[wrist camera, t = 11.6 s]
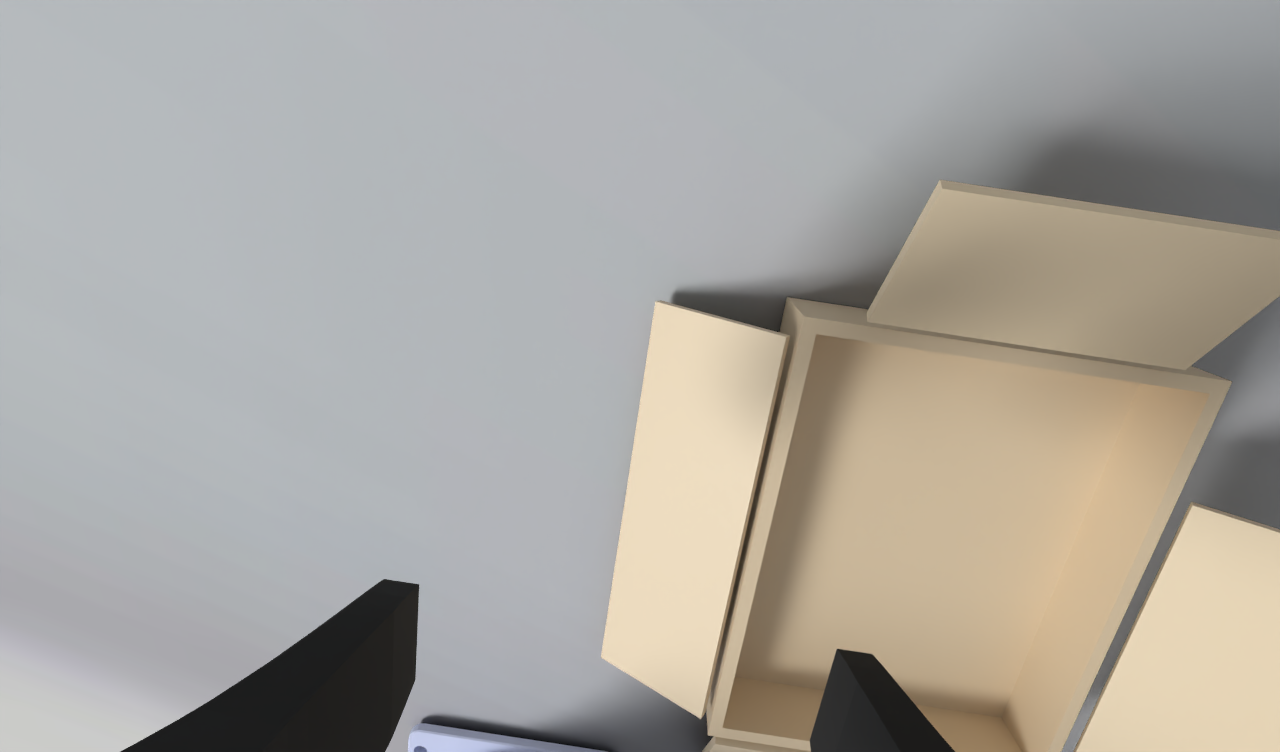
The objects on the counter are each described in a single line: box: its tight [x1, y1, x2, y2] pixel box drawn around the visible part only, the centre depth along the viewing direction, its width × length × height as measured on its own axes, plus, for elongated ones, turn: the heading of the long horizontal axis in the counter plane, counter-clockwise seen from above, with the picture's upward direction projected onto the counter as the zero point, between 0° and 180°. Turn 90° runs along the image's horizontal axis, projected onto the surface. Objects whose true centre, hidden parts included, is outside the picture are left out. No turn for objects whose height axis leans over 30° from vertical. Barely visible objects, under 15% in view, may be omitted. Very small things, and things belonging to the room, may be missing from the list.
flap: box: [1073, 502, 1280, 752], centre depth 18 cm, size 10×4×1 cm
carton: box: [601, 297, 1232, 752], centre depth 20 cm, size 18×15×3 cm
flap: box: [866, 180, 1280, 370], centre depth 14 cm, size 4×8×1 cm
